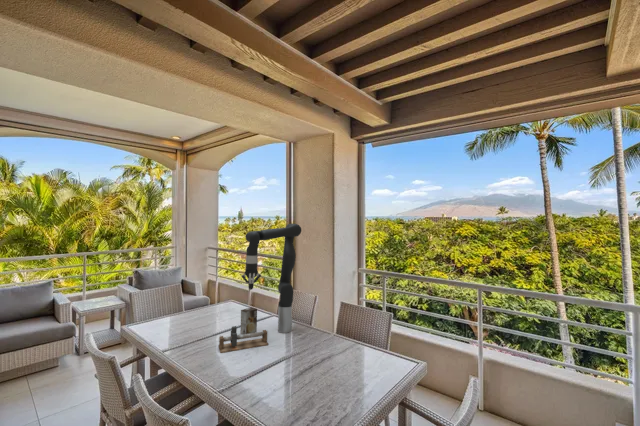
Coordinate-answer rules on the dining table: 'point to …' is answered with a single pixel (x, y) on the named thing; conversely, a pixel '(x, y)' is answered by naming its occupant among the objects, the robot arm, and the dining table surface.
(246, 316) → the coffee box
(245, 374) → the dining table surface
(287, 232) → the robot arm
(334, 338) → the dining table surface
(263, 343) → the rail
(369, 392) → the dining table surface
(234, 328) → the collar
